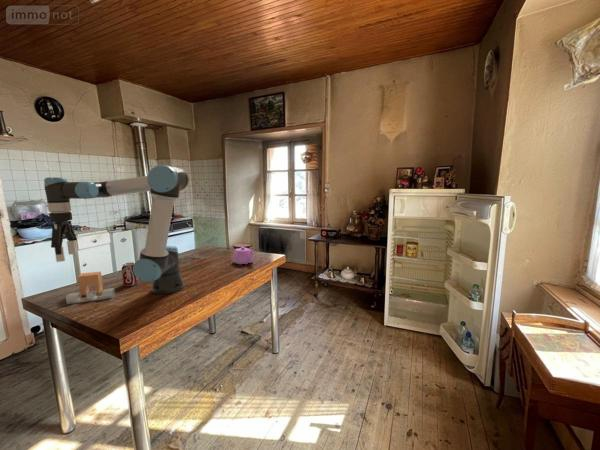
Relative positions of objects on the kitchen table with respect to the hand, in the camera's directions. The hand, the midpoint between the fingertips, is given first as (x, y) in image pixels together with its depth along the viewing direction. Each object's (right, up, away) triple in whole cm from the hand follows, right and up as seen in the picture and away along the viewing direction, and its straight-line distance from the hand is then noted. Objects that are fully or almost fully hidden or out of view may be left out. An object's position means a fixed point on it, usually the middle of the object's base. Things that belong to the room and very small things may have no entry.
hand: (67, 257), depth 119 cm
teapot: (+69, -12, +64) cm, 95 cm away
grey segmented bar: (+8, -21, +5) cm, 23 cm away
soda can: (+14, -18, +24) cm, 33 cm away
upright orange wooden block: (+1, -20, +13) cm, 24 cm away
